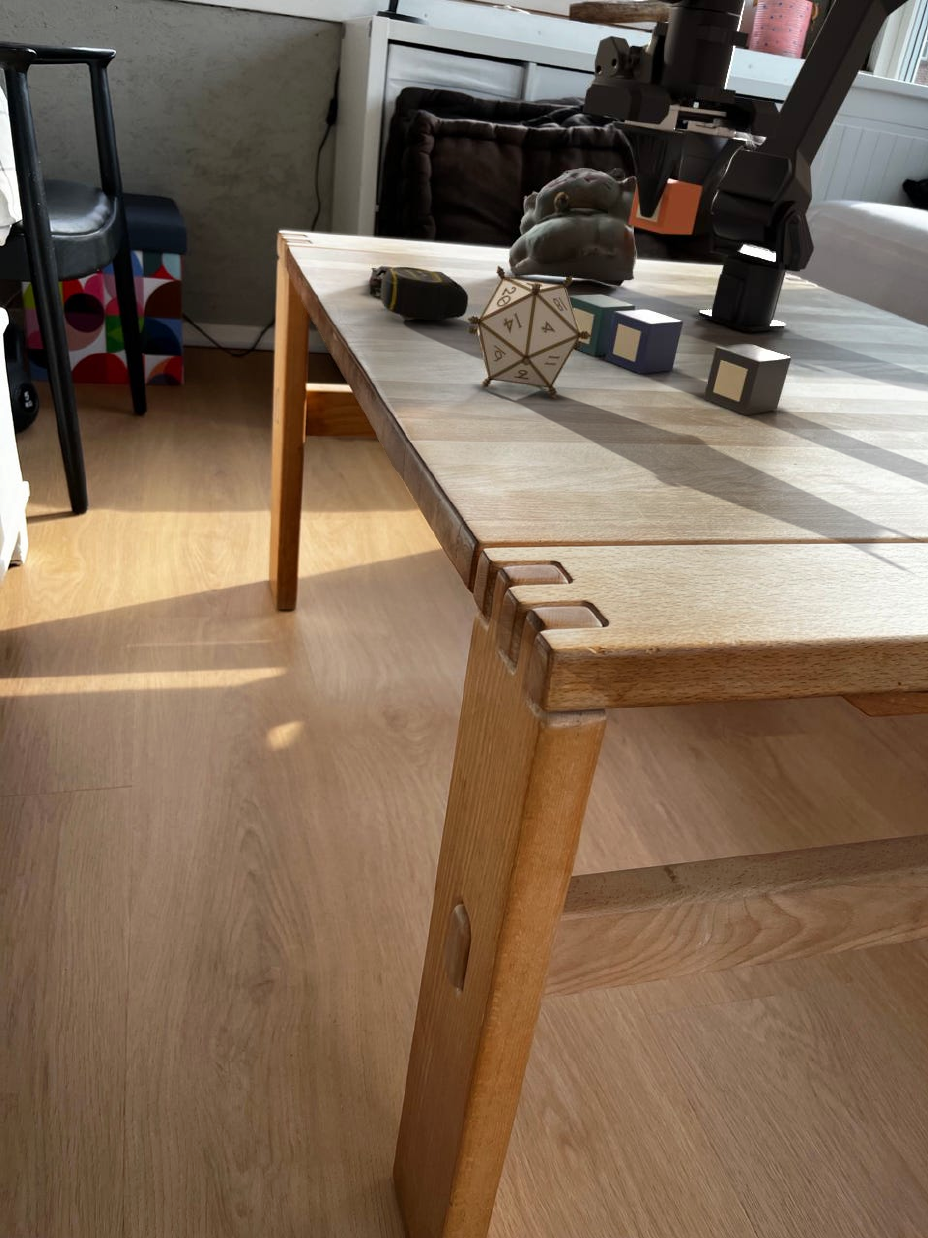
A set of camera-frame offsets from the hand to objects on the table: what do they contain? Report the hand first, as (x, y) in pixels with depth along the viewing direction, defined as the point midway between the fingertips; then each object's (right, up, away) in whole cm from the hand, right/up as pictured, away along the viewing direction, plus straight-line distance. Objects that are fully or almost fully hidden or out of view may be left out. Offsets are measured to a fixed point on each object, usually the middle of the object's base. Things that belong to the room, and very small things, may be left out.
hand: (662, 217), depth 90 cm
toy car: (-25, -4, +8) cm, 26 cm away
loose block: (0, -1, +1) cm, 1 cm away
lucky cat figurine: (-6, +2, +24) cm, 25 cm away
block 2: (-3, -14, -6) cm, 16 cm away
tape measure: (-21, -9, 0) cm, 23 cm away
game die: (-14, -19, -16) cm, 28 cm away
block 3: (+3, -19, -12) cm, 23 cm away
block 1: (-6, -12, -2) cm, 14 cm away
